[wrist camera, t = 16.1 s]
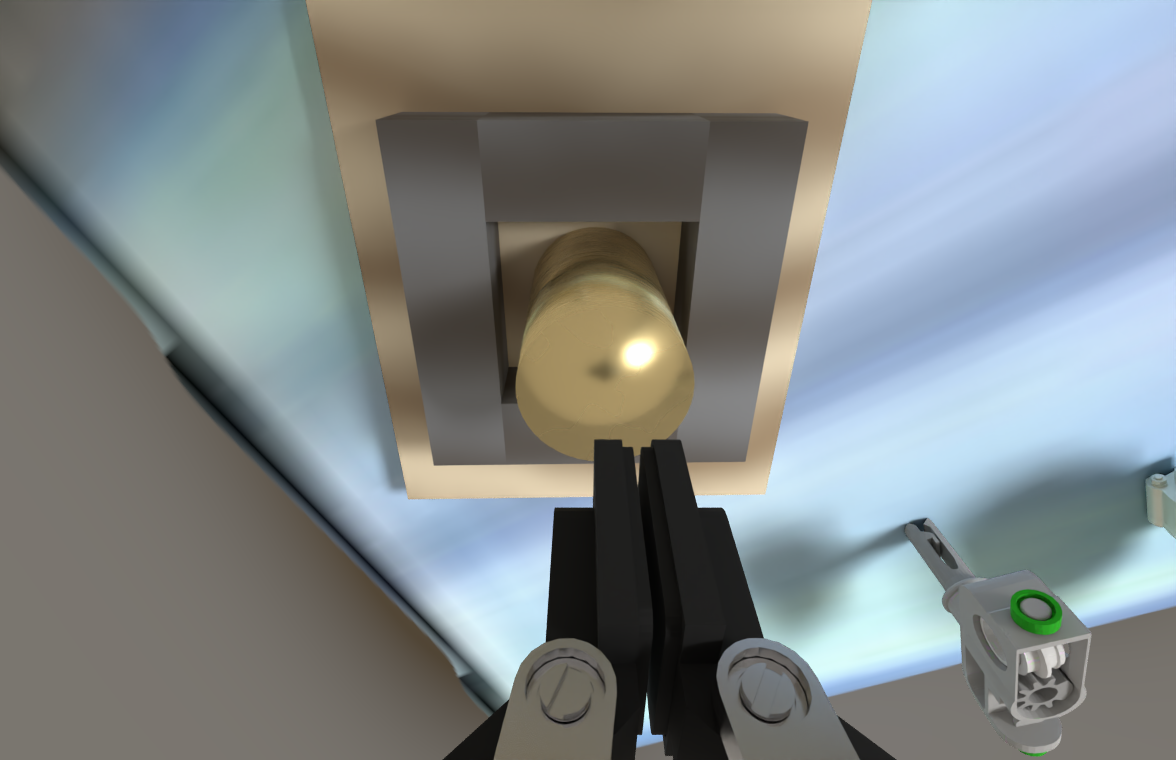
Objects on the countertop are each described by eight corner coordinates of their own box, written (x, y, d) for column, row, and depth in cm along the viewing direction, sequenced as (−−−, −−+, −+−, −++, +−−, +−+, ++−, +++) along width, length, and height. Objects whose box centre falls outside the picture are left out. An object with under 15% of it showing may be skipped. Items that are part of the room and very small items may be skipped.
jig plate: (314, -46, 18) (243, -75, 14) (860, -40, 18) (937, -66, 15) (415, 479, 29) (391, 544, 25) (756, 475, 29) (784, 538, 26)
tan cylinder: (533, 223, 21) (514, 303, 14) (663, 230, 21) (708, 311, 14) (532, 341, 24) (515, 459, 17) (648, 346, 24) (681, 464, 17)
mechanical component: (899, 589, 34) (1009, 768, 26) (883, 469, 30) (1013, 639, 21) (948, 577, 34) (1078, 754, 25) (941, 453, 29) (1098, 619, 20)
